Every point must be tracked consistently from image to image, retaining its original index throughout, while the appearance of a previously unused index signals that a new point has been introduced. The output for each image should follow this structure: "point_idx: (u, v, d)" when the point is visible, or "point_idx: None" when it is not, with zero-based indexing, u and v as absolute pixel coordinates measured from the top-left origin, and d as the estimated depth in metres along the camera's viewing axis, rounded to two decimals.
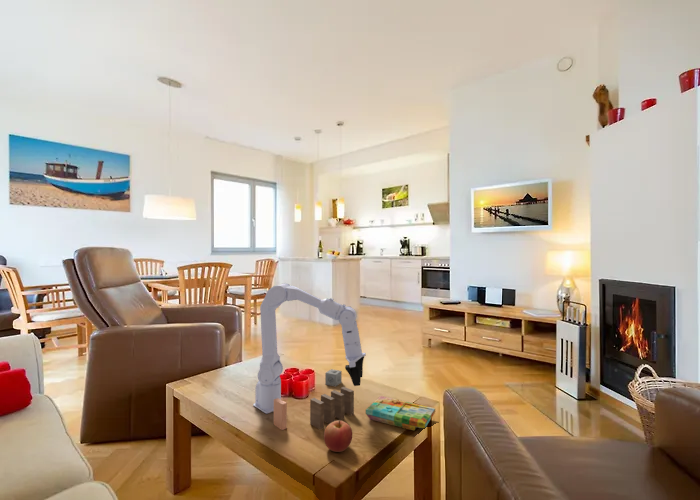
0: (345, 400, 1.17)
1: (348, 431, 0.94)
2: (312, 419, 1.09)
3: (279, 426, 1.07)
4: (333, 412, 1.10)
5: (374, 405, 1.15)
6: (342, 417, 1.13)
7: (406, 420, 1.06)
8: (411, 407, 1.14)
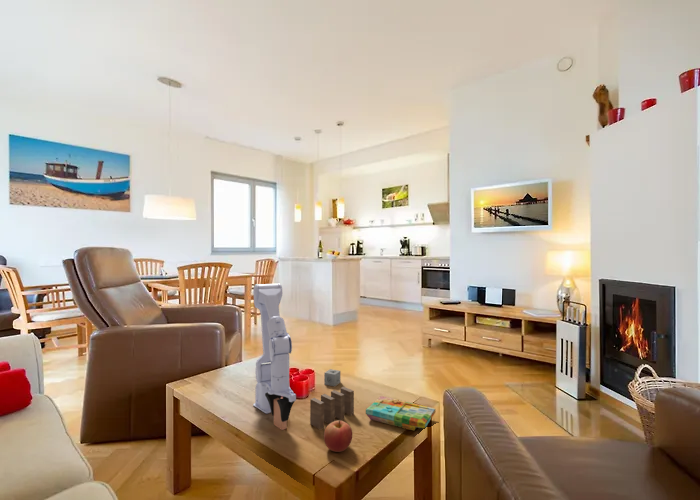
0: (345, 400, 1.17)
1: (348, 431, 0.94)
2: (312, 419, 1.09)
3: (279, 426, 1.07)
4: (333, 412, 1.10)
5: (374, 405, 1.15)
6: (342, 417, 1.13)
7: (406, 420, 1.06)
8: (411, 407, 1.14)
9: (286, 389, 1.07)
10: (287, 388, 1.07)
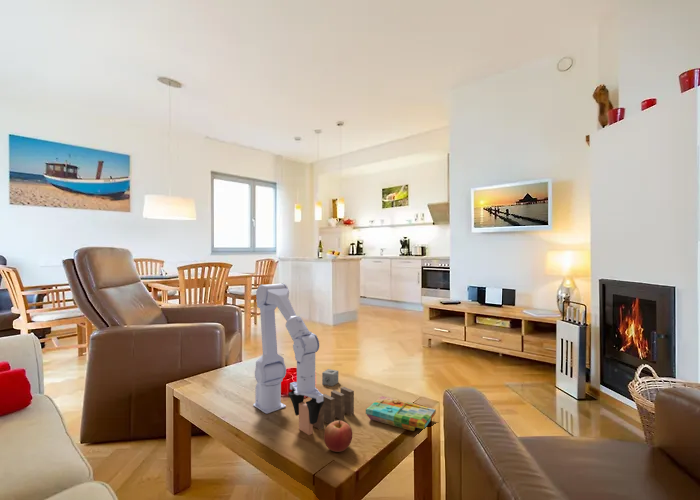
0: (345, 400, 1.17)
1: (348, 431, 0.95)
2: None
3: (306, 431, 1.04)
4: (333, 412, 1.10)
5: (374, 405, 1.15)
6: (342, 417, 1.13)
7: (405, 421, 1.06)
8: (411, 408, 1.14)
9: (312, 389, 1.04)
10: (313, 388, 1.05)
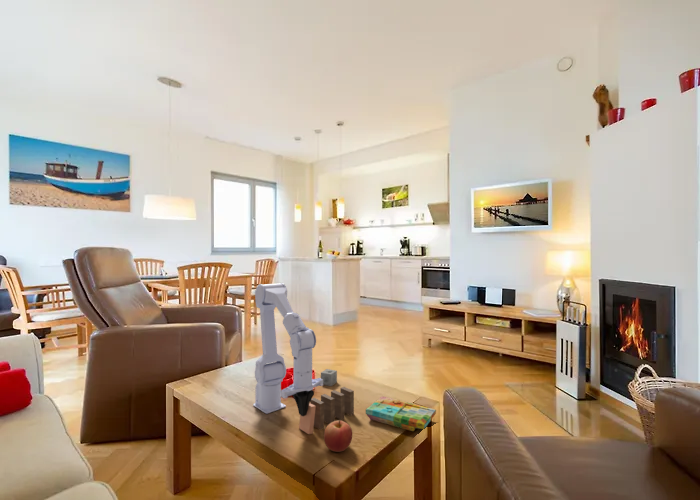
0: (345, 400, 1.17)
1: (348, 431, 0.95)
2: None
3: (306, 430, 1.04)
4: (333, 412, 1.10)
5: (374, 405, 1.15)
6: (342, 417, 1.13)
7: (405, 421, 1.05)
8: (411, 408, 1.13)
9: None
10: None
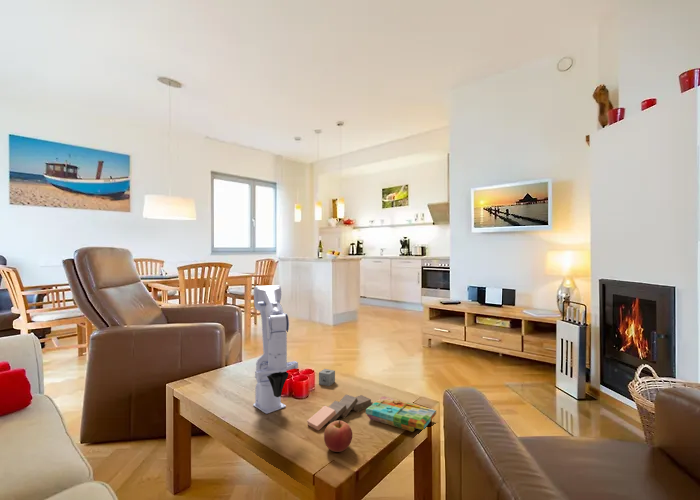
0: None
1: (348, 431, 0.95)
2: None
3: (316, 423, 1.07)
4: (350, 409, 1.16)
5: (375, 405, 1.15)
6: (355, 407, 1.18)
7: (405, 421, 1.05)
8: (411, 408, 1.13)
9: None
10: None
